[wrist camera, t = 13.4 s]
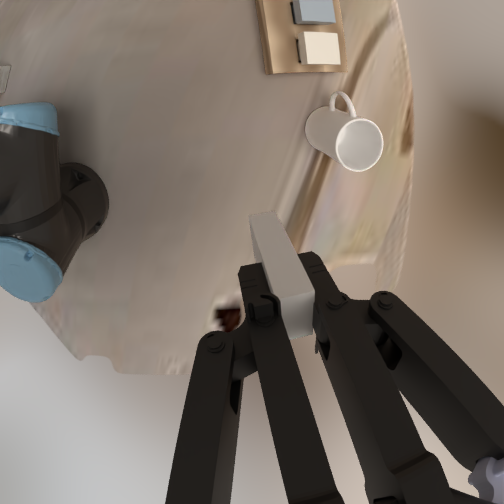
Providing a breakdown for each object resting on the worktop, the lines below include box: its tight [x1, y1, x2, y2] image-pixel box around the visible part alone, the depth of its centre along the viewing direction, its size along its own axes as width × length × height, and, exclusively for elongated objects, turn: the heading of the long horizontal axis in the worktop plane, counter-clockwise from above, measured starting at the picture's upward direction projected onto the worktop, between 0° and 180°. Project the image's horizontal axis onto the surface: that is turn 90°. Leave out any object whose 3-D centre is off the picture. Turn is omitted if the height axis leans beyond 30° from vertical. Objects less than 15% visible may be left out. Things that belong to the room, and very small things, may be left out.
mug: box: [305, 91, 383, 172], centre depth 38 cm, size 12×8×12 cm
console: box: [255, 0, 348, 74], centre depth 30 cm, size 12×20×5 cm, turn 7°
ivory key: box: [296, 32, 341, 65], centre depth 30 cm, size 5×5×7 cm
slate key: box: [291, 0, 336, 25], centre depth 27 cm, size 5×5×7 cm
